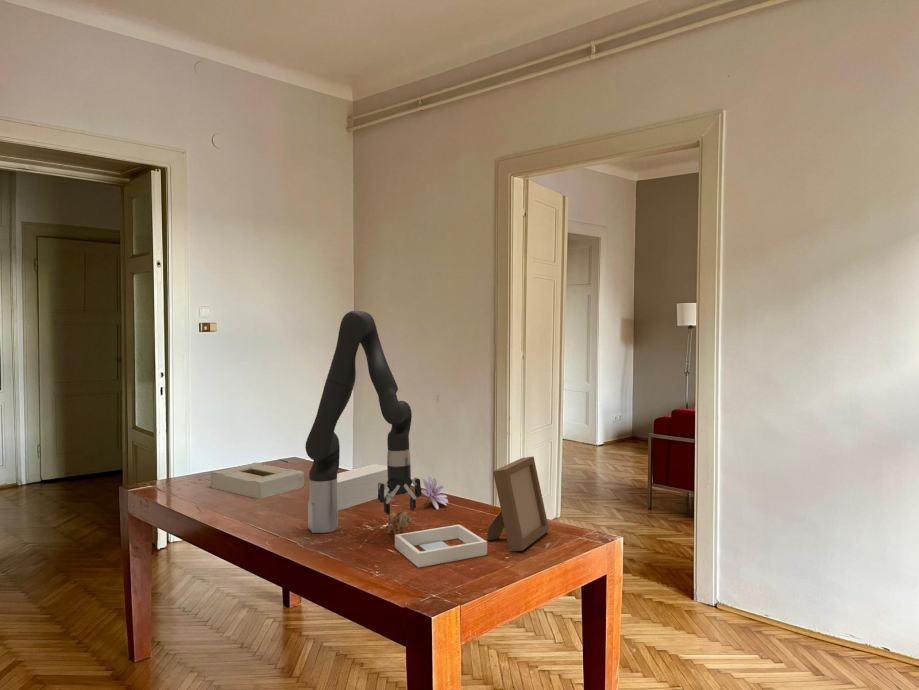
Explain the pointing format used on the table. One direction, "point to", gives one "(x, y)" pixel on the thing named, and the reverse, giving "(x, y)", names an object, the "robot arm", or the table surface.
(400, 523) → the lion figurine
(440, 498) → the water lily
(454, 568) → the table surface
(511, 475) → the photo frame
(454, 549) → the low pen
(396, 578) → the table surface
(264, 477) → the box
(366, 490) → the stack of papers
